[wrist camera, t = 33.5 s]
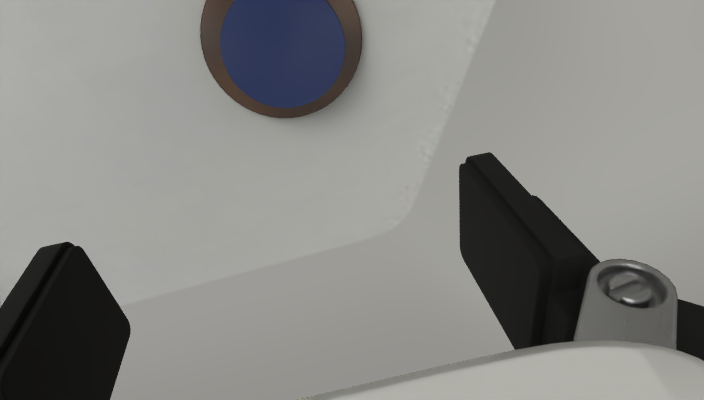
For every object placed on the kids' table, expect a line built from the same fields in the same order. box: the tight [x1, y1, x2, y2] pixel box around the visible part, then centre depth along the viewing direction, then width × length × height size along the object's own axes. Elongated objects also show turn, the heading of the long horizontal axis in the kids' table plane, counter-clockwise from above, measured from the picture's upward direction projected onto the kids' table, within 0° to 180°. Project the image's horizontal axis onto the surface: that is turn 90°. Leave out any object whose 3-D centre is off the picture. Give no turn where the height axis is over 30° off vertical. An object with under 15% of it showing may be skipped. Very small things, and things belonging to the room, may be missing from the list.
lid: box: [220, 0, 345, 108], centre depth 25 cm, size 7×7×1 cm
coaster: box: [201, 0, 362, 118], centre depth 25 cm, size 9×9×1 cm
